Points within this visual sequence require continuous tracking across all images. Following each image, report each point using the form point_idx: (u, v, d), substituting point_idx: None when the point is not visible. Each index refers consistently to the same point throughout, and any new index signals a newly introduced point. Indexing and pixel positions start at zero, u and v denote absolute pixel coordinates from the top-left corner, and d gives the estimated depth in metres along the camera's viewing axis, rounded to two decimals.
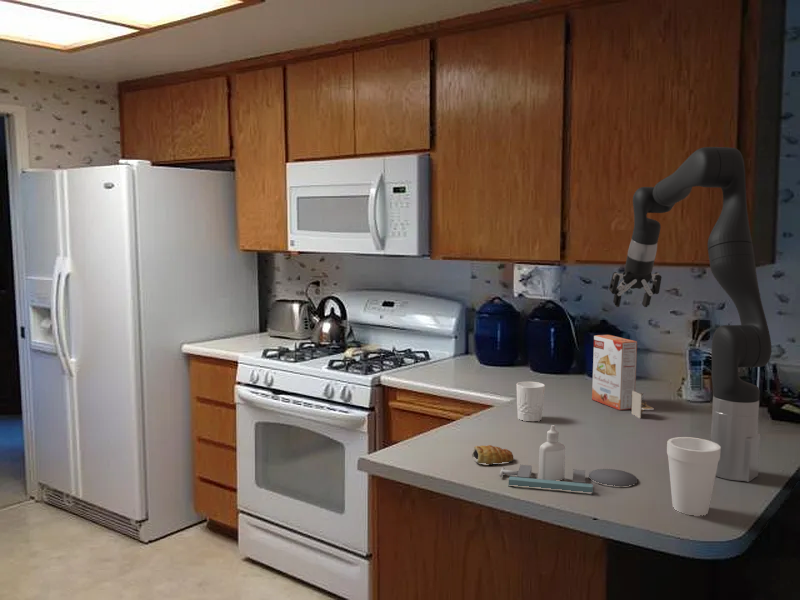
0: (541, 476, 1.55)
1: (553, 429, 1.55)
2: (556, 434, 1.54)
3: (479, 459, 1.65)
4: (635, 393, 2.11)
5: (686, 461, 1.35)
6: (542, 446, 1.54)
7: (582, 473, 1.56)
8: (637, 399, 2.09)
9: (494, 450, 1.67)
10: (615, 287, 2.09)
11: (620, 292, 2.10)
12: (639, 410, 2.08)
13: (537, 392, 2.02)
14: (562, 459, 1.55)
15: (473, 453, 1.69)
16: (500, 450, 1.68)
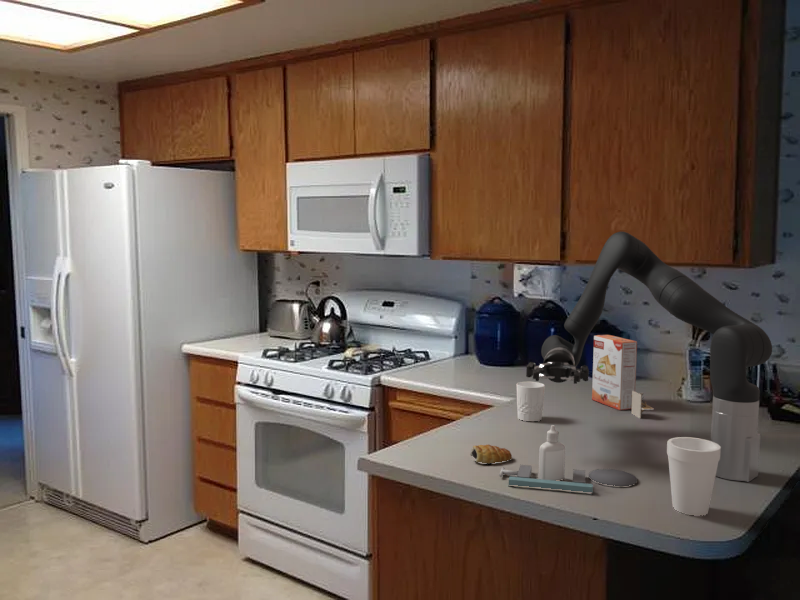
0: (541, 476, 1.55)
1: (553, 429, 1.55)
2: (556, 434, 1.54)
3: (478, 458, 1.66)
4: (635, 393, 2.11)
5: (686, 461, 1.35)
6: (542, 446, 1.54)
7: (582, 473, 1.56)
8: (637, 399, 2.09)
9: (493, 449, 1.67)
10: (530, 365, 1.73)
11: (537, 367, 1.71)
12: (639, 410, 2.08)
13: (537, 392, 2.02)
14: (562, 459, 1.55)
15: (471, 453, 1.70)
16: (498, 449, 1.68)
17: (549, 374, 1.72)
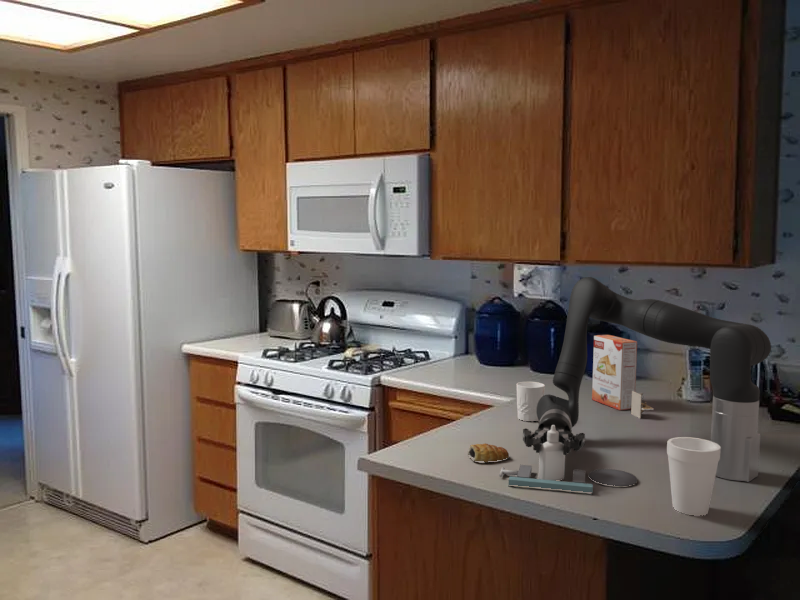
0: (541, 476, 1.55)
1: (553, 429, 1.54)
2: (556, 434, 1.54)
3: (476, 457, 1.66)
4: (635, 393, 2.10)
5: (686, 461, 1.35)
6: (542, 446, 1.54)
7: (582, 473, 1.56)
8: (637, 399, 2.09)
9: (490, 448, 1.68)
10: (528, 433, 1.60)
11: (538, 436, 1.58)
12: (639, 410, 2.08)
13: (537, 392, 2.02)
14: (562, 459, 1.55)
15: (469, 452, 1.70)
16: (496, 448, 1.69)
17: None
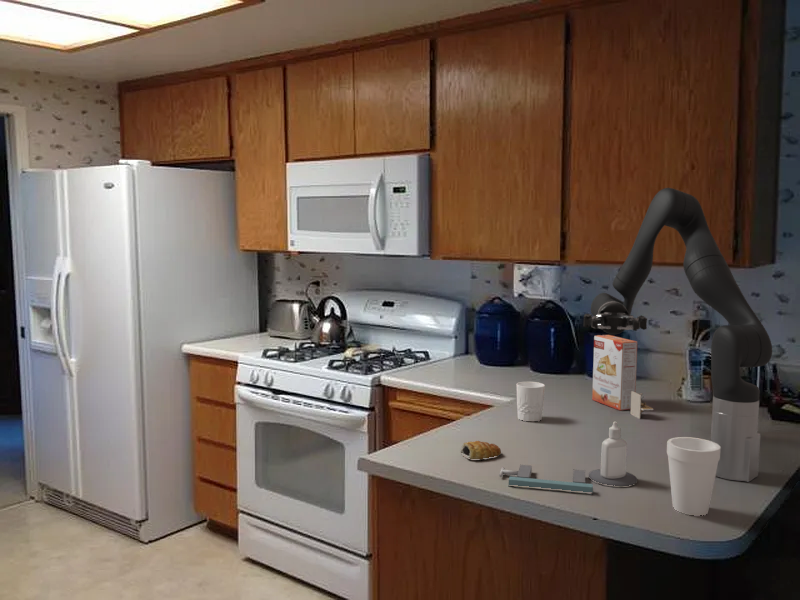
0: (604, 472, 1.56)
1: (615, 425, 1.56)
2: (619, 430, 1.55)
3: (471, 455, 1.68)
4: (634, 393, 2.10)
5: (686, 461, 1.35)
6: (605, 442, 1.55)
7: (582, 473, 1.56)
8: (636, 399, 2.09)
9: (484, 445, 1.70)
10: (587, 315, 1.73)
11: (595, 316, 1.71)
12: (638, 410, 2.08)
13: (537, 392, 2.02)
14: (624, 455, 1.56)
15: (462, 450, 1.72)
16: (489, 445, 1.72)
17: (606, 324, 1.72)
